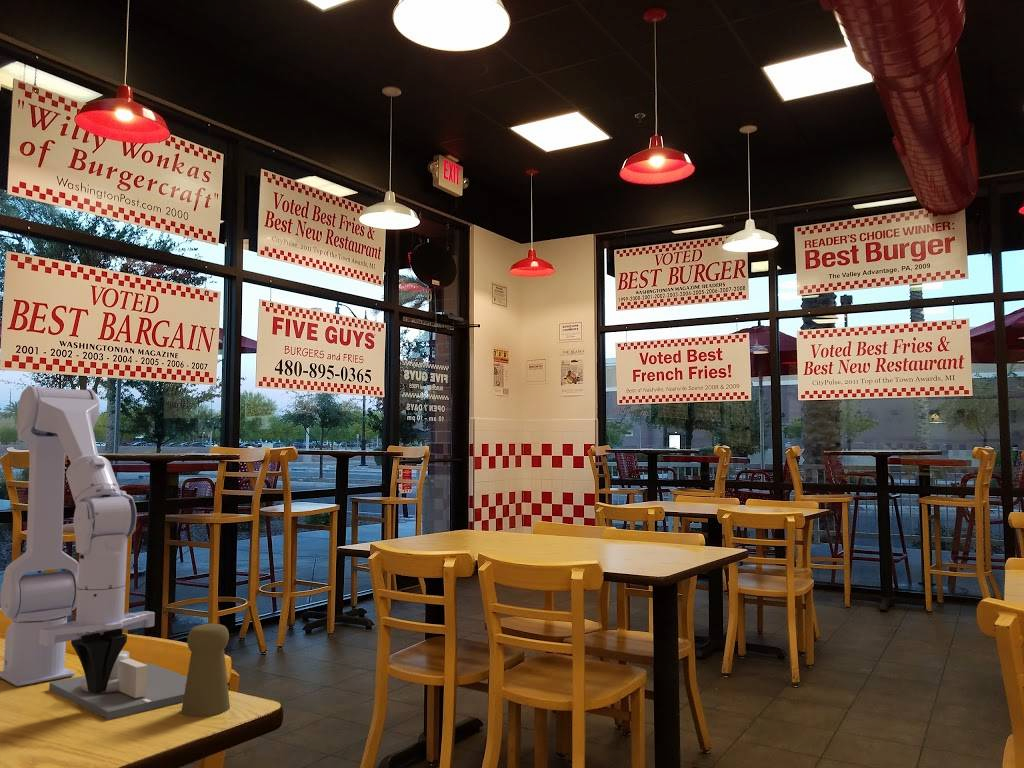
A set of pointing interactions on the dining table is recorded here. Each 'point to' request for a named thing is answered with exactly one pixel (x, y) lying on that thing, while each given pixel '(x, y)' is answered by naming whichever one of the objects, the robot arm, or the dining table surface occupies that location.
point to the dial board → (110, 705)
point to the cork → (206, 672)
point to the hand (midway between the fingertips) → (96, 691)
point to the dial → (125, 677)
